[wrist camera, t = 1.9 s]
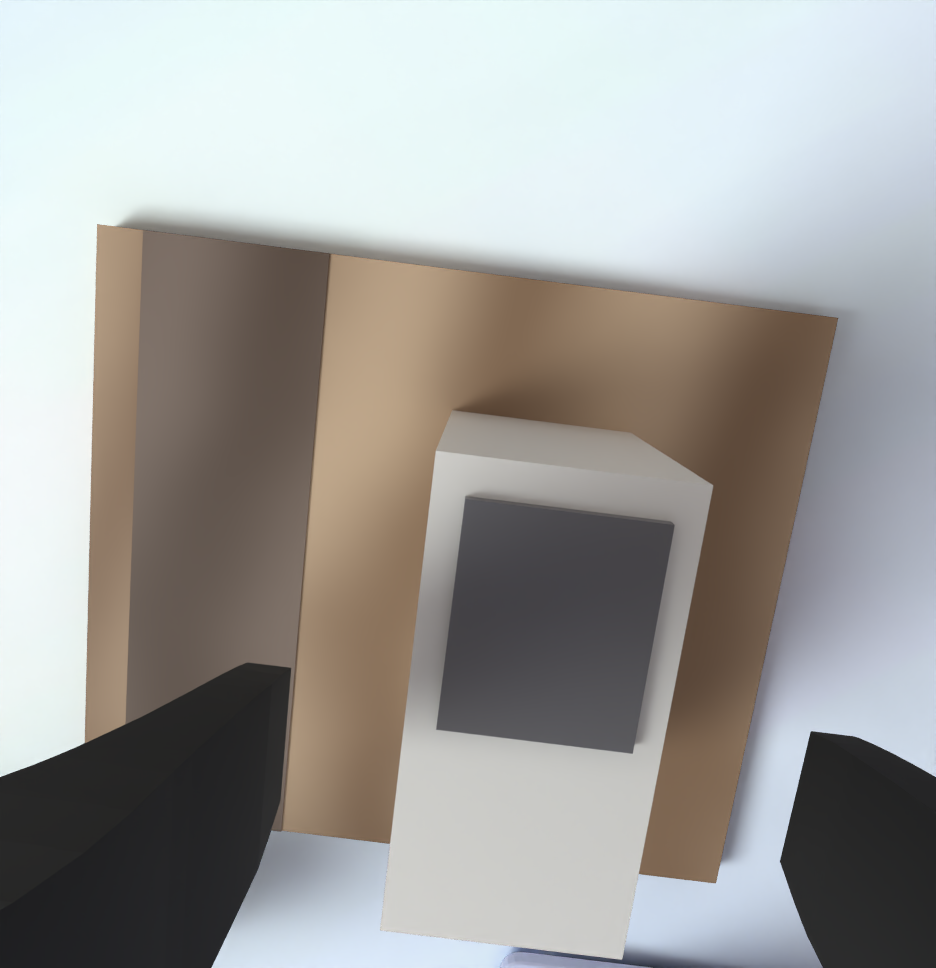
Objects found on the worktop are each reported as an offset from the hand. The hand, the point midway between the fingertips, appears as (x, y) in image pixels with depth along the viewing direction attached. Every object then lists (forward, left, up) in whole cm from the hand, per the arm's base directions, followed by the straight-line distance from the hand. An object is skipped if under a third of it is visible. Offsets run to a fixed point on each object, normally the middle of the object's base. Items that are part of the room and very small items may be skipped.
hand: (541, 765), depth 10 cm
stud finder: (0, 0, -7) cm, 7 cm away
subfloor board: (+2, 0, -8) cm, 8 cm away
